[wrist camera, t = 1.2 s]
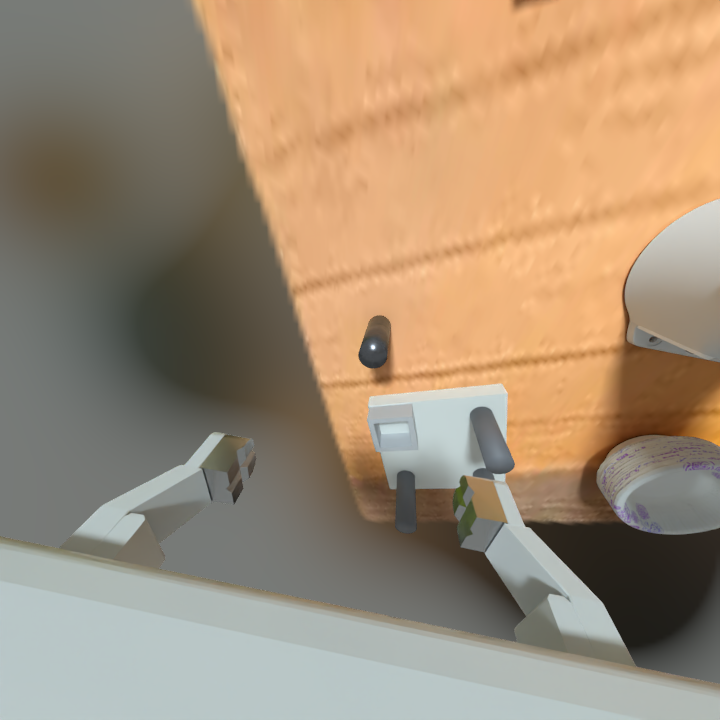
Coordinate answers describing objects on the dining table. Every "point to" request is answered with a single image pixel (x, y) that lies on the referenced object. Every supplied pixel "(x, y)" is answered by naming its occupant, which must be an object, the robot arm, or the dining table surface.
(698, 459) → the paper bowls
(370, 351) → the stool leg
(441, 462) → the stool seat
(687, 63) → the dining table surface
